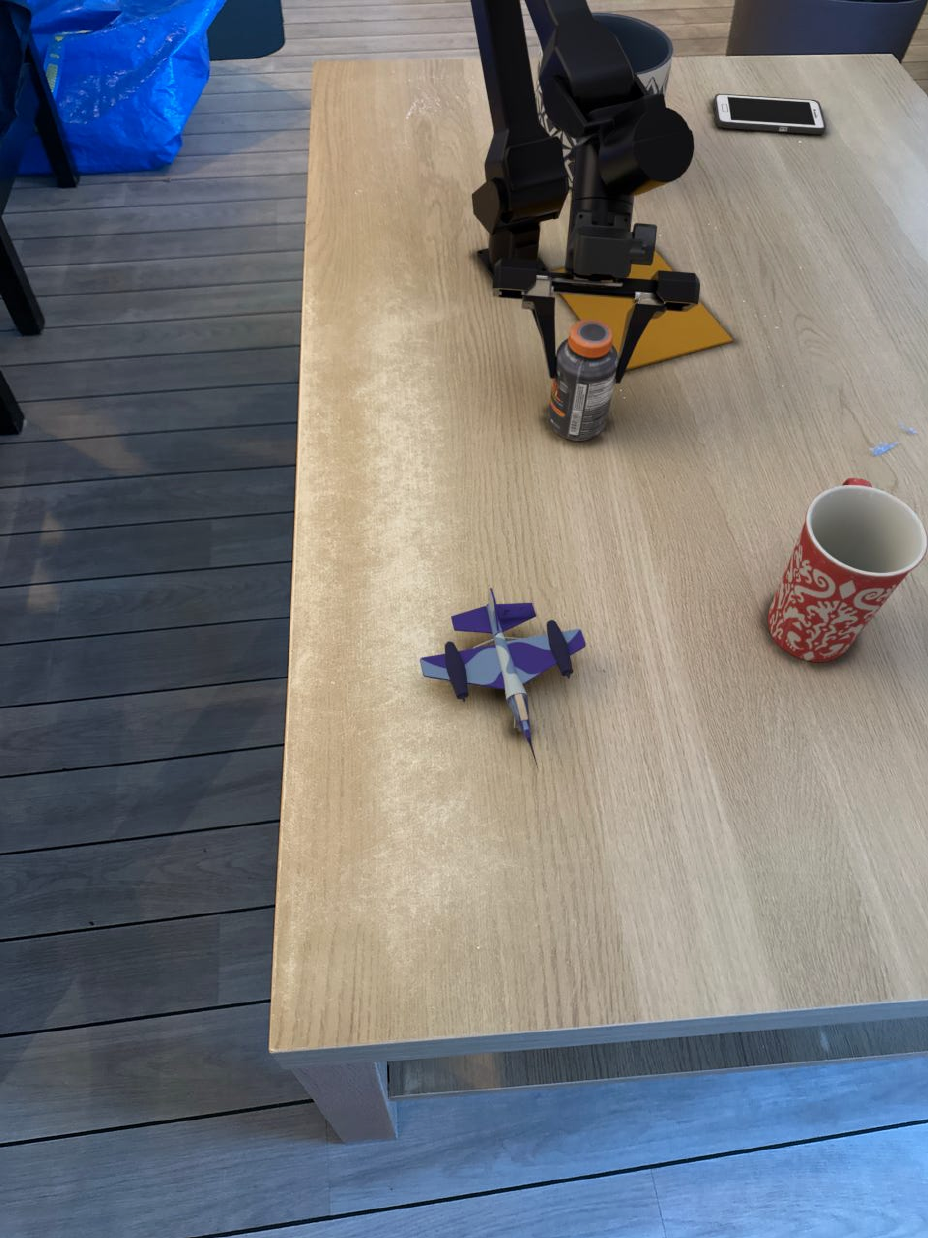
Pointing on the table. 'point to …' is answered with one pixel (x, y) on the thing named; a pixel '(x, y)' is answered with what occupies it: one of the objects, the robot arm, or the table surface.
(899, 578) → the mug
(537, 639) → the toy airplane
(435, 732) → the table surface
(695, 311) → the cloth
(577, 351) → the pill bottle
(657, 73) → the planter
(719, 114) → the cell phone
